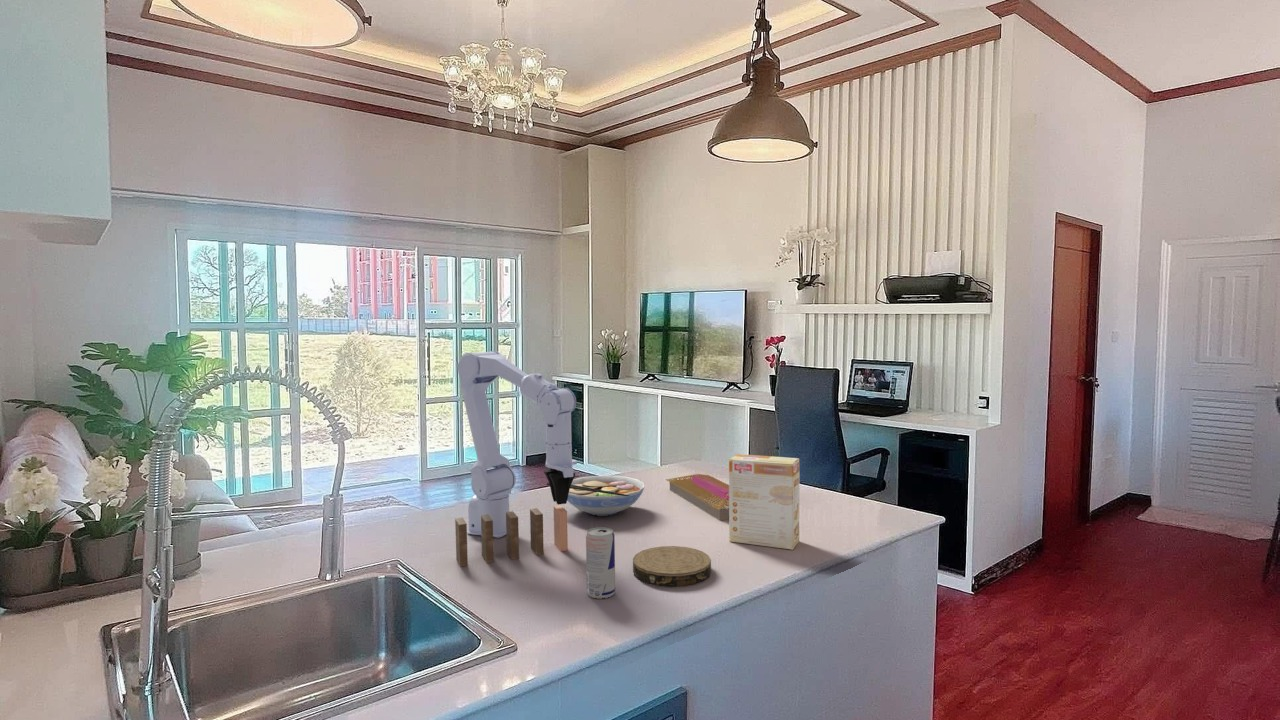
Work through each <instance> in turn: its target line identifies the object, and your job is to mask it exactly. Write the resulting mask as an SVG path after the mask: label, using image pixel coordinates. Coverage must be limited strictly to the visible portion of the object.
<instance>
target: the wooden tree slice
mask: <svg viewBox="0 0 1280 720" xmlns="http://www.w3.org/2000/svg"><path fill="white" fill-rule="evenodd" d="M711 568H712V559H711V557H710V556H709V555H708V554H707V553H706V552H704V551H702V550H699V549H696V548H692V547H687V546H680V545H679V546H676V545H665V546H656V547H650V548H647V549H643V550H641V551H639V552H638V553H636V554H635V555H634V556H633V558H632V572H633V573H634V574H633V576H634V578H636V580H637V581H639V580H640V581H639V582H642V583H644V582H645V583H644V584H646V583H647V584H646V585H650V584H651V585H650V586H654V585H655V586H656V587H663V588H684V587H685V588H686V587H690V586H696V585H698V584H701V583H704V582H705V581H706V580H707V579H709V578H710V576H711V573H712V569H711Z"/></svg>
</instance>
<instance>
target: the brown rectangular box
mask: <svg viewBox="0 0 1280 720" xmlns="http://www.w3.org/2000/svg"><path fill="white" fill-rule="evenodd" d="M665 481H667V482H669V491H670V492H673V493H674V494H675V495H677V496H679V497H680V498H682V499H683V500H685V501H687V502H688V503H690V504H692V505H693V506H695V507H697V508H699V509H700V510H702V511H703V512H705V513H707V515H710V516H711V517H713V518H715V519H716V520H717V521H729V483H728V484H727V483H726V482H724V481H722V480H720V479H718V478H716V477H714V476H711V475H710V474H702V473H695V474H689V475H683V476H677V477H673V478H668V479H665Z"/></svg>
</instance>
